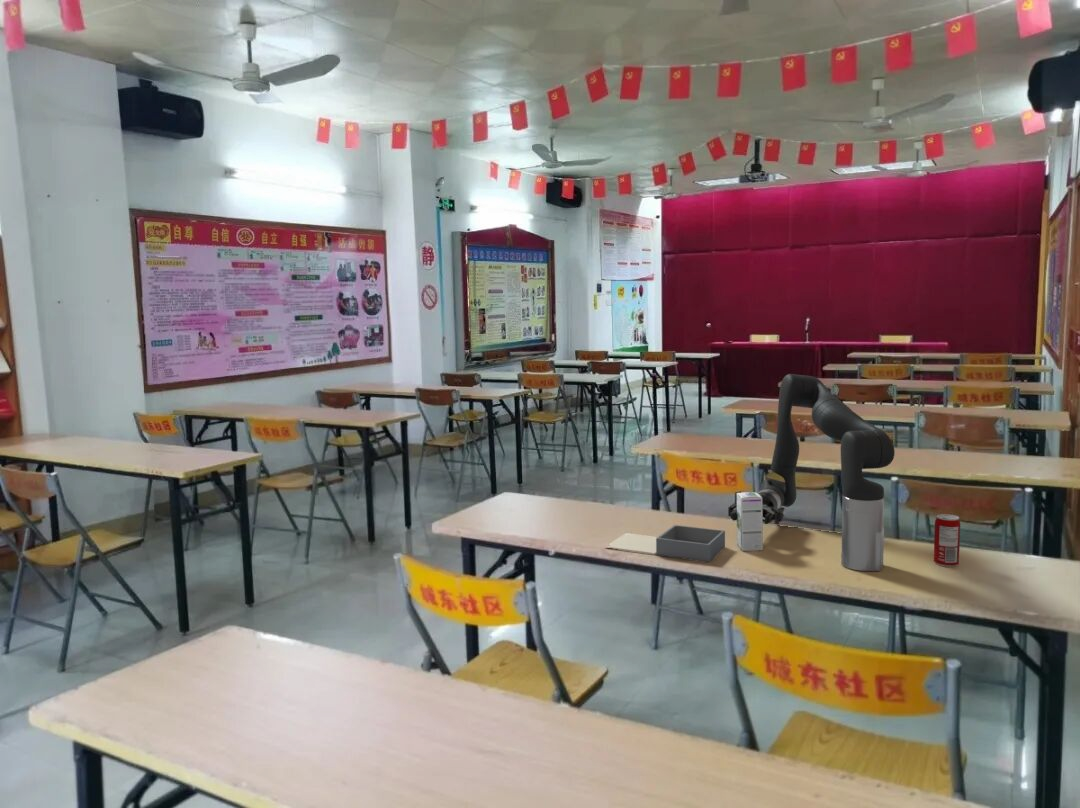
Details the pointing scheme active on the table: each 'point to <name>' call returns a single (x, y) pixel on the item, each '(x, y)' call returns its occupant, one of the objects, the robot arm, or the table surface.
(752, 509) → the syrup box
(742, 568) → the table surface
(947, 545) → the soda can
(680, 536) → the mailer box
